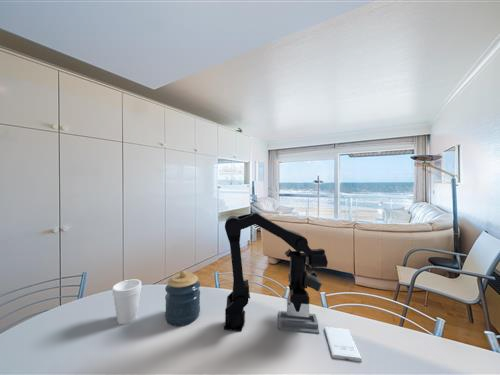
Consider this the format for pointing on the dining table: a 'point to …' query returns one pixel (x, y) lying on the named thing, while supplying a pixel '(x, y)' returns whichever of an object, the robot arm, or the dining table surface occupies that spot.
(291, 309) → the block
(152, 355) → the dining table surface
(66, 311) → the dining table surface
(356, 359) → the external hard drive
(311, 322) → the dock
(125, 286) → the foam cup
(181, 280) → the canister
